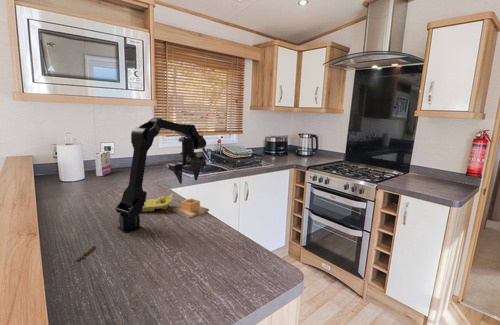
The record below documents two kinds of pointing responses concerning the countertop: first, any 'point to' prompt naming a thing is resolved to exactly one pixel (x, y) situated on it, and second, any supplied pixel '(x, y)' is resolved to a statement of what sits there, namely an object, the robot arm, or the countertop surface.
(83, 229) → the countertop surface
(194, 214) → the beige peg base
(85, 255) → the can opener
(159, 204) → the plastic component
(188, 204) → the orange nut
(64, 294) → the countertop surface
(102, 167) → the candy bar box
